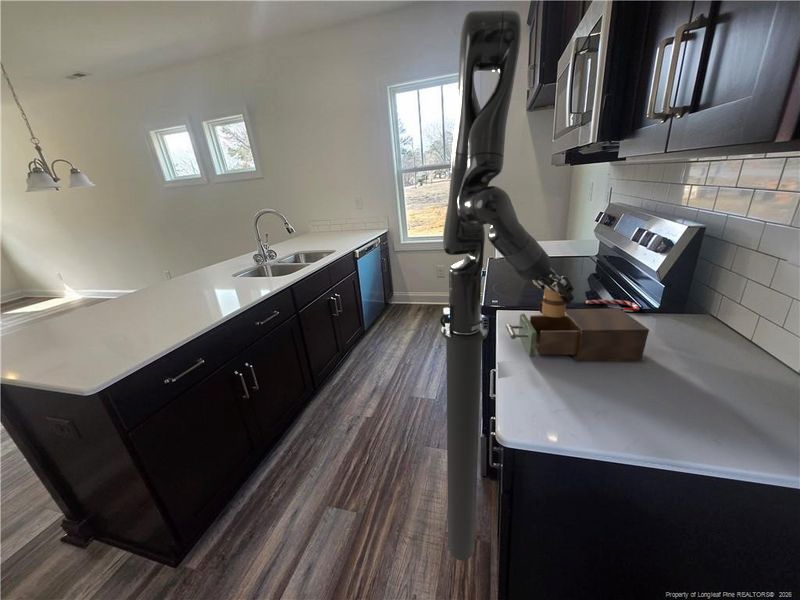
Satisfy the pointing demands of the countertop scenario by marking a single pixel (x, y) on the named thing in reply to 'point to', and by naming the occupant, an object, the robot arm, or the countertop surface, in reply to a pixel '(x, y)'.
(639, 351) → the cabinet
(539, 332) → the drawer
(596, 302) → the candy cane
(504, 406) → the countertop surface
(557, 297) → the cookie roll
